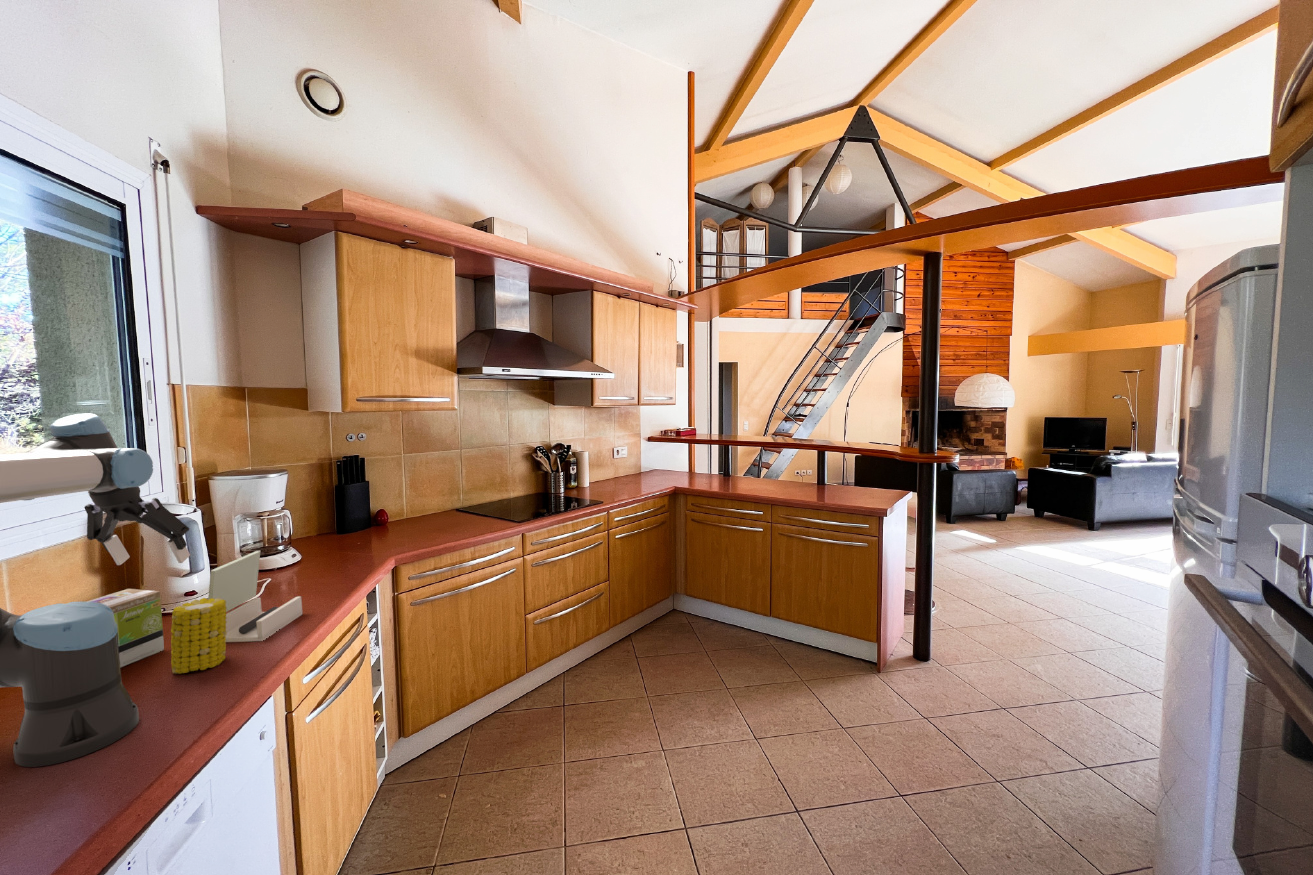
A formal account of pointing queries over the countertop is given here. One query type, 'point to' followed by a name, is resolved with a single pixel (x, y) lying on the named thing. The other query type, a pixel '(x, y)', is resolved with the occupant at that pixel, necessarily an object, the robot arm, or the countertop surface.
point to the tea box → (136, 623)
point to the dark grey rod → (254, 622)
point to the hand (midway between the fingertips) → (154, 560)
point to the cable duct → (260, 620)
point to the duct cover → (235, 580)
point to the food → (198, 635)
